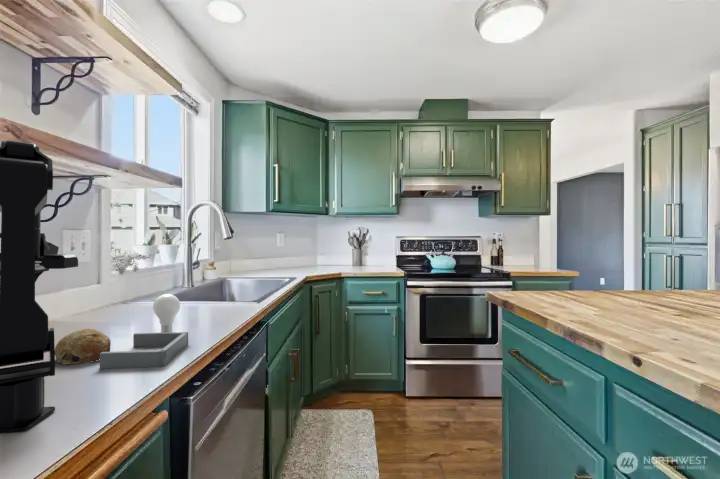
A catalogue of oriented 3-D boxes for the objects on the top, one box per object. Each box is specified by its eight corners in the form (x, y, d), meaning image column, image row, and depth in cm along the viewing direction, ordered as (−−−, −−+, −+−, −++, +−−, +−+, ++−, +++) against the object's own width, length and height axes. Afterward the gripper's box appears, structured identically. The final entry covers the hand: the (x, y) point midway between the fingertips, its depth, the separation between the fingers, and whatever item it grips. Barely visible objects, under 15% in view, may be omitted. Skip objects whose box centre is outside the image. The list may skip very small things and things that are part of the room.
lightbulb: (172, 339, 98) (172, 296, 98) (147, 338, 98) (148, 295, 98) (184, 332, 104) (184, 292, 104) (161, 332, 104) (161, 292, 104)
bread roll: (49, 381, 79) (40, 351, 75) (70, 347, 87) (63, 319, 84) (104, 377, 81) (98, 348, 78) (119, 344, 90) (114, 317, 87)
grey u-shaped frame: (164, 366, 78) (164, 351, 78) (99, 368, 76) (99, 353, 76) (188, 344, 93) (188, 331, 93) (135, 345, 92) (135, 333, 92)
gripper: (92, 229, 90) (91, 295, 90) (3, 228, 88) (2, 296, 88) (62, 228, 79) (61, 304, 79) (-41, 227, 77) (-41, 305, 77)
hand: (22, 302), depth 81 cm, fingers closed
